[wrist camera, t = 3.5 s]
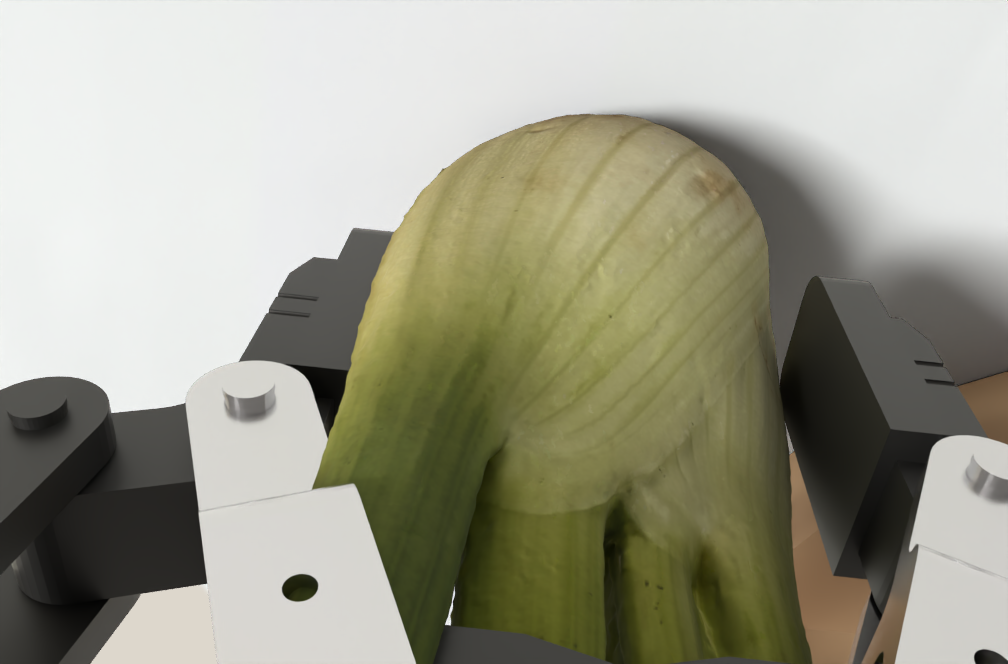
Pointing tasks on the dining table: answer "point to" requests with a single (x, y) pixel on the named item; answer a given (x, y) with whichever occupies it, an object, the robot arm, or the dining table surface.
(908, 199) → the dining table surface
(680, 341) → the fennel bulb
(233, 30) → the dining table surface
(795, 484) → the walnut ring
